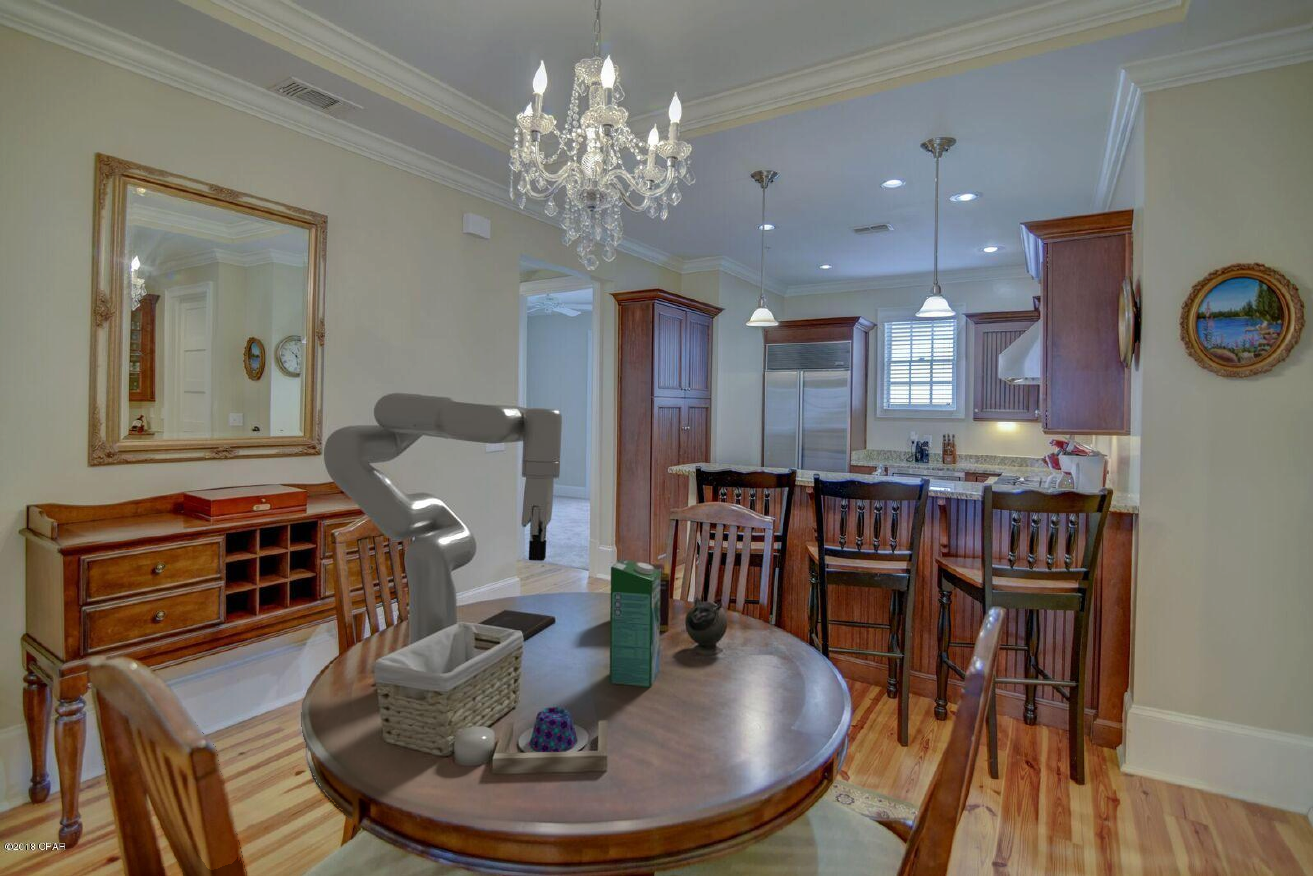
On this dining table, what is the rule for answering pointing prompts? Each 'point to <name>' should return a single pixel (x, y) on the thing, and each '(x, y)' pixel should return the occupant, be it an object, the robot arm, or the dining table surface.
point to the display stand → (548, 757)
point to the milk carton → (634, 623)
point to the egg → (474, 746)
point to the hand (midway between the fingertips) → (537, 559)
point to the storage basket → (447, 685)
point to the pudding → (553, 733)
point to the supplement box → (664, 595)
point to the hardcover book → (516, 625)
